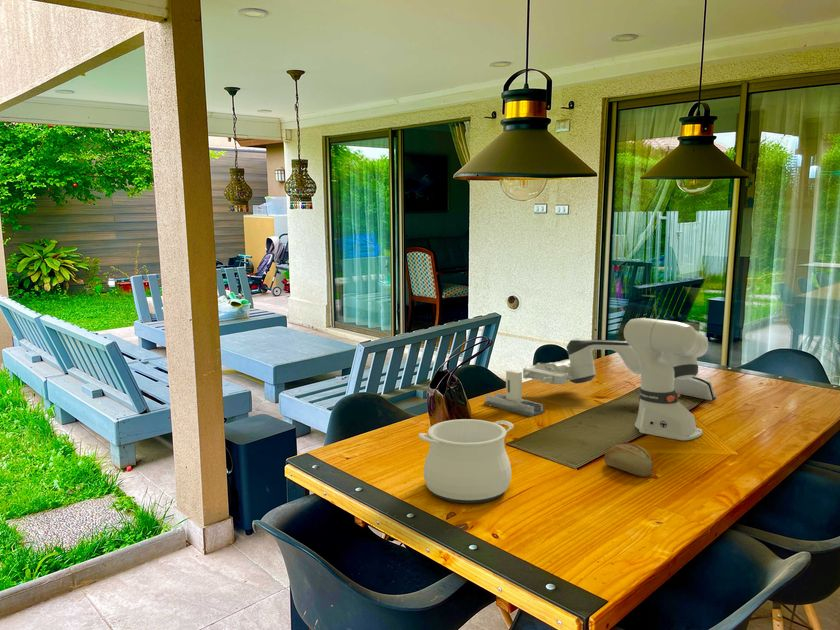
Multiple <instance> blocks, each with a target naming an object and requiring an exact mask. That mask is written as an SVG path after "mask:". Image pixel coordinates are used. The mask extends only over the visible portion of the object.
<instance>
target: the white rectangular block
mask: <svg viewBox="0 0 840 630" xmlns="http://www.w3.org/2000/svg"><path fill="white" fill-rule="evenodd" d="M522 381H523V371H518V370H513V369H508V370H506V371H505V395H506V400H510V401H514V402H517V403H521V404H522V399H523V396H522V395H523V392H522V391H523V388H522V387H523V386H522V385H523V382H522Z"/></svg>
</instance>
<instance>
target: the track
mask: <svg viewBox="0 0 840 630" xmlns="http://www.w3.org/2000/svg"><path fill="white" fill-rule="evenodd" d="M485 397H486V398H485V401H483V405H485V404H488V405H491V406H490V407H492V406H494V407H493V408H495V407H498V408H497V409H499V408H501V409H500V410H503V409H504V411H506V410H508V412H510V411H511V413H513V412H514V414H518V415H521V416H525V417H529V418H531V417H534V416H537V415H541V414H543V413H546V410H545V409H544V403H540V402H536V401H531V400H529V399H523V398H522V404H521V403H517V402H514V401H510V400H506V394H503V393H500V392H495V393H494V396H493V395H490V394H487V395H486V396H485ZM488 405H487V406H488Z"/></svg>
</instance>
